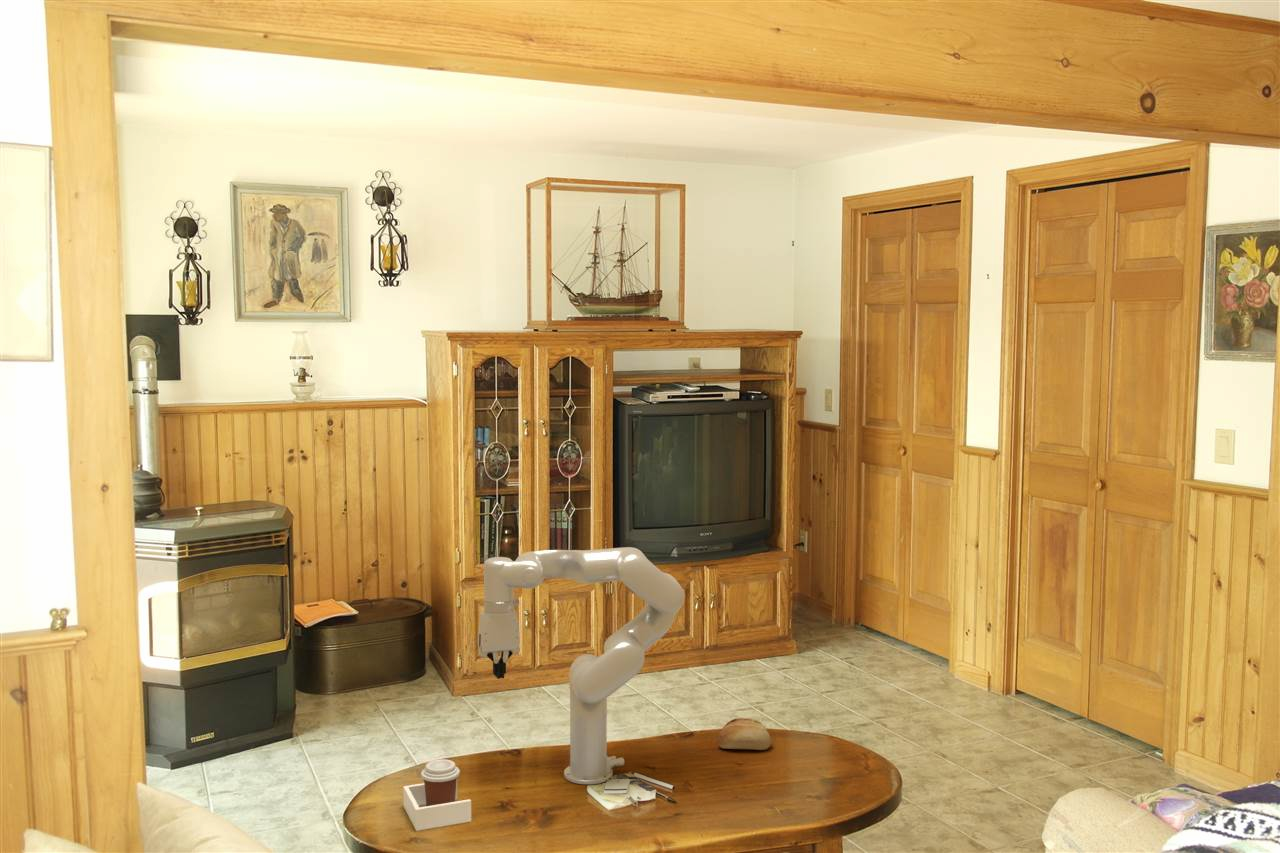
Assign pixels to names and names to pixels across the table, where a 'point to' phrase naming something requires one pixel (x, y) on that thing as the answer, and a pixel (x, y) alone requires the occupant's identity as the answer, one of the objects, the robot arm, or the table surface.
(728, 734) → the bread roll
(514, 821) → the table surface
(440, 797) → the coffee cup
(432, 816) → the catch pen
